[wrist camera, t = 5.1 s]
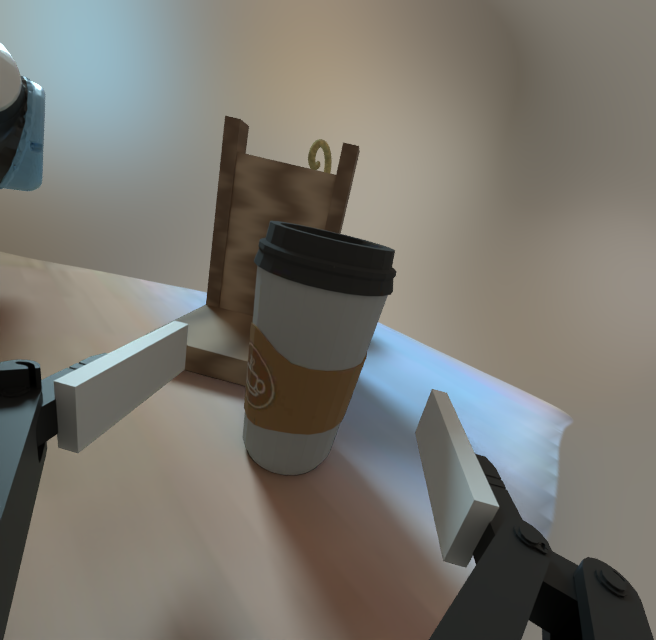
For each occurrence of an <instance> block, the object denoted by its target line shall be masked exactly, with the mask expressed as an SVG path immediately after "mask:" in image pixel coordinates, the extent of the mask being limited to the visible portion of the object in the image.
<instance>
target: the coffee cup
mask: <svg viewBox="0 0 656 640" xmlns="http://www.w3.org/2000/svg"><path fill="white" fill-rule="evenodd" d="M258 246H259V250H258V252H257V254H256V256H255V259H254V263H255V264H256V265H257V276H256V287H255V299H254V311H253V323H251V329H250V341H249V354H248V366H247V378H246V390H245V403H244V409H245V418H244V429H243V440H244V443H245V447H246V448H247V450H248V453H249V455H250V456H251V458H252V459H253V460H254V461H255V462H256V463H257V464H258V465H260V466H261V467H262V468H264V469H266V470H268V471H271V472H273V473H278V474H282V475H298V474H303V473H306V472H308V471H310V470H312V469H314V468H316V467H317V466H318V465H319V464H320V463H321V462H322V461H323V460H324V459H326V458H327V456H328V454H329V452H330V450H331V447H332V444H333V441H334V439H335V436H336V433H337V431H338V428H339V425H340V423H341V421H342V419H343V417H344V415H345V413H346V410H347V407H348V405H349V402H350V399H351V397H352V394H353V391H354V389H355V386H356V383H357V381H358V378H359V375H360V373H361V370H362V367H363V365H364V362H365V359H366V356H367V350H368V347H369V344H370V342H371V339H372V336H373V334H374V331H375V328H376V326H377V323H378V320H379V317H380V315H381V312H382V309H383V307H384V304H385V301H386V298H387V296H388V295H390V294H391V293H392V292H393V278H394V277H395V276H396V271H395V269H394V268H392V264H393V258H394V253H395V250H393V249H391V248H388V247H386V246H383V245H379V244H376V243H373V242H369V241H366V240H362V239H358V238H354V237H351V236H347V235H342V234H339V233H334V232H330V231H326V230H321V229H317V228H312V227H308V226H303V225H298V224H292V223H287V222H280V221H270V223H269V227H268V231H267V235H266V238H262V239H260V240H259V245H258Z"/></svg>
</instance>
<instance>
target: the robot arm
mask: <svg viewBox="0 0 656 640" xmlns="http://www.w3.org/2000/svg"><path fill="white" fill-rule="evenodd" d="M44 118H45V92H44V90H43V88H42V87H41V86H40V85H38V84H36V83H34V82H32V81H31V80H30V79H28V78H25V77H24V76H20V73H19V70H18V67H17V65H16V63H15V61H14V59H13V58H12V56H11V55H10V53H9V52H8V51H7V50H6V48H5V47H4V46H3V45H2V44H1V43H0V189H2V188H6V189H14V190H22V191H33V190H35V189H37V188H39V187H40V185H41V184H42V171H43V144H44ZM187 336H188V324H186V323H182V322H178V321H173V322H171V323H169V324H167V325H165V326H163V327H161V328H159V329H157V330H155V331H153V332H151V333H149V334H147V335H145V336H143V337H141V338H139V339H137V340H135V341H133V342H131V343H129V344H127V345H125V346H123V347H121V348H119V349H117V350H115V351H113V352H111V353H109V354H107V353H103V354H99V355H95V356H91V357H89V358H87V359H85V360H83V361H81V362H79V364H78V363H76V364H74V365H72V366H70V367H69V368H66V369H64V370H62V371H60V372H57V373H55V374H53V375H51V376H49V377H47V378H45V379H43V380H41V371H40V364H38V363H37V362H35V361H31V360H11V361H4V362H0V640H3V638H4V634H5V630H6V625H7V621H8V617H9V612H10V608H11V604H12V599H13V595H14V591H15V586H16V582H17V578H18V573H19V569H20V565H21V560H22V556H23V552H24V547H25V543H26V539H27V534H28V530H29V526H30V521H31V517H32V513H33V508H34V504H35V500H36V495H37V491H38V487H39V483H40V478H41V474H42V470H43V465H44V461H45V457H46V452H47V441H48V440H49V439H50V438H52V437H53V436H55V435H56V434H57V437H58V447H59V448H62V449H65V450H69V451H72V452H76V453H79V452H80V451H82V450H83V449H84V448H86V447H87V446H88V445H89V444H91V443H92V442H93V441H94V440H96V439H97V438H98V437H100V436H101V435H102V434H103V433H105V432H106V431H107V430H108V429H110V428H111V427H112V426H114V425H115V424H116V423H117V422H119V421H120V420H121V419H122V418H124V417H125V416H126V415H127V414H129V413H130V412H131V411H133V410H134V409H135V408H136V407H138V406H139V405H140V404H141V403H143V402H144V401H145V400H147V399H148V398H149V397H150V396H152V395H153V394H154V393H155V392H157V391H158V390H159V389H161V388H162V387H163V386H164V385H166V384H167V383H168V382H169V381H171V380H172V379H173V378H174V377H176V376H177V375H178V374H180V373H181V372H182V371H183V370H185V360H186V348H187ZM415 434H416V439H417V443H418V448H419V453H420V457H421V462H422V466H423V471H424V475H425V480H426V484H427V489H428V493H429V498H430V502H431V507H432V512H433V516H434V521H435V525H436V530H437V534H438V539H439V543H440V548H441V552H442V557H443V561H445V562H449V563H452V564H455V565H459V566H462V567H467V565H468V563H469V562H470V560H471V558H472V556H474V559H475V563H476V566H475V568H474V569H473V571H472V573H471V574H470V576H469V577H468V579H467V580H466V582H465V584H464V585H463V587H462V588H461V590H460V591H459V593H458V595H457V596H456V598H455V599H454V601H453V603H452V604H451V606H450V607H449V609H448V610H447V612H446V614H445V615H444V617H443V618H442V620H441V621H440V623H439V625H438V626H437V628H436V629H435V631H434V632H433V634H432V636H431V637H430V639H429V640H521V639H522V636H523V633H524V630H525V628H526V625H527V622H528V620H530V621H531V622H533V623H535V624H536V625H537V626H539V627H541V628H542V640H654V639H653V636H652V633H651V630H650V627H649V623H648V620H647V617H646V614H645V611H644V608H643V605H642V602H641V600H640V598H639V596H638V594H637V592H636V591H635V589H634V588H633V587H632V586H631V584H630V583H629V582H628V581H627V580H626V579H625V578H624V577H623V576H622V575H621V574H620V573H618V572H617V571H616V570H615V569H613V568H612V567H610V566H609V565H607V564H606V563H604V562H602V561H600V560H598V559H595V558H589V557H587V558H586V559H583V560H582V562H581V563H580V565H579V566H578V565H576V564H575V563H573V562H571V561H569V560H567V559H565V558H564V557H562V556H560V555H558V554H556V553H554V552H553V551H552V550H551V548H550V546H549V543H548V542H547V540H546V539H545V538H544V537H543V535H542V534H541V533H540V532H539V531H538V530H536V529H535V528H534V527H533V526H532V525H530V524H528V523H527V522H525V521H523V520H522V518H521V516H520V514H519V512H518V510H517V508H516V506H515V504H514V503H513V501H512V499H511V497H510V495H509V493H508V491H507V490H506V487H505V485H504V483H503V481H501V477H500V476H499V474H498V472H497V470H496V468H495V467H494V466H493V464H492V463H491V462H490V461H489V460H488V459H487V458H486V457H484V456H481V455H477V454H475V453H474V451H473V449H472V446H471V444H470V442H469V440H468V438H467V436H466V433H465V431H464V429H463V427H462V425H461V423H460V420H459V418H458V416H457V414H456V412H455V409H454V407H453V405H452V403H451V401H450V399H449V396H448V394H447V393H445V392H441V391H438V390H434V389H432V390H431V393H430V396H429V398H428V401H427V403H426V406H425V408H424V411H423V414H422V416H421V419H420V421H419V424H418V427H417V429H416V432H415Z"/></svg>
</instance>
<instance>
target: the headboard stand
mask: <svg viewBox="0 0 656 640" xmlns="http://www.w3.org/2000/svg"><path fill="white" fill-rule="evenodd" d="M248 129H249V126H248V125H247V124H246V123H244V122H243V121H242V120H241V119H237V118H233V117H228V116H225V124H224V133H223V143H222V153H221V162H220V172H219V182H218V192H217V202H216V213H215V222H214V231H213V241H212V251H211V261H210V270H209V280H208V281H209V282H208V291H207V300H206V305H204V306H202V307H200V308H198V309H196V310H194V311H192V312H190V313H188V314H186V315H184V316H182V317H180V318H178V319H176V320H174V321H178V322H182V323H186V324H188V336H187V348H186V360H185V370H188V371H191V372H195V373H199V374H202V375H206V376H210V377H213V378H217V379H221V380H225V381H228V382H232V383H236V384H239V385H243V386H246V378H247V366H248V354H249V341H250V329H251V323H253V311H254V299H255V287H256V276H257V265H256V264H255V263H254V259H255V256H256V254H257V252H258V250H259V246H258V245H259V240H260V239H262V238H266V235H267V231H268V227H269V223H270V221H280V222H287V223H292V224H298V225H303V226H308V227H312V228H317V229H321V230H326V231H330V232H334V233H339V234H340V233H341V229H342V224H343V221H344V216H345V212H346V207H347V203H348V199H349V195H350V190H351V186H352V181H353V177H354V173H355V169H356V164H357V160H358V155H359V146H356V145H351V144H347V143H343V146H342V152H341V156H340V161H339V165H338V170H337V175H334V174H330V173H326V172H321V171H317V170H313V169H308V168H304V167H300V166H295V165H291V164H287V163H282V162H278V161H274V160H270V159H265V158H261V157H257V156H253V155H248V154H245V153H246V145H247V137H248ZM172 322H173V321H172ZM170 323H171V322H170ZM168 324H169V323H168ZM166 325H167V324H166ZM164 326H165V325H164ZM162 327H163V326H162ZM160 328H161V327H160ZM158 329H159V328H158ZM156 330H157V329H156ZM154 331H155V330H154ZM152 332H153V331H152ZM150 333H151V332H150ZM148 334H149V333H148ZM146 335H147V334H146Z"/></svg>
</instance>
